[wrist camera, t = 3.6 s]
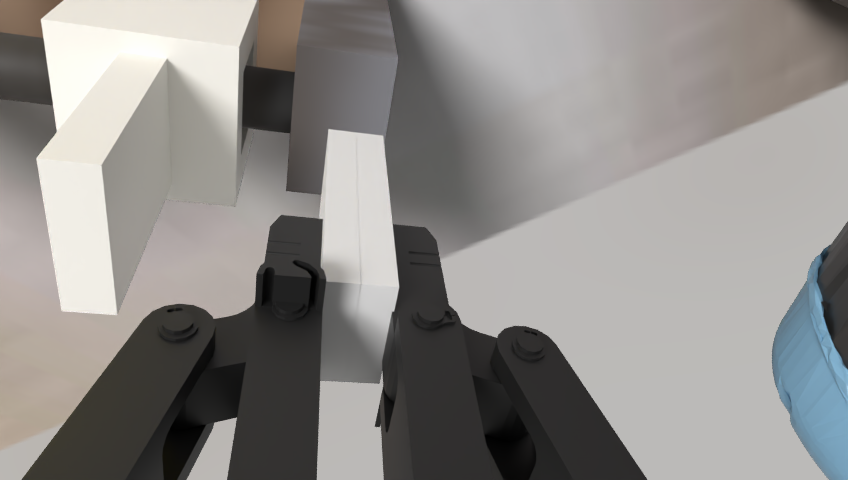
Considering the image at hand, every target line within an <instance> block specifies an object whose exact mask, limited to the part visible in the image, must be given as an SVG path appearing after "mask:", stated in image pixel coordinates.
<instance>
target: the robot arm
mask: <svg viewBox="0 0 848 480" xmlns="http://www.w3.org/2000/svg"><path fill="white" fill-rule="evenodd" d="M831 1H833V2H835V3H837V4H840V5H842V6H844V7H847V8H848V0H831ZM772 366H773V374H774V380H775V384H776V387H777V390H778V392H779V396H780V399H781V401H782V402H783V404H784V406H785V407H786V409H787V410H788V412H789V413H790V421H791V425H792V427H793V428H794V430H795V432H796V434H797V435H798V437H799V439H800V440H801V442H802V444H803V445H804V447H805V448H806V450H807V451H808V453H809V454H810V456H811V457H812V458H813V460H814V461H815V463H816V464H817V465H818V467H819V468H820V469H821V470H822V472H823V473H824V474H825V475H826V477H827V478H828V479H829V480H848V222H847V223H846V225H845V226H844V227H843V229H842V230H841V232H840V233H839V235H838V236H837V237H836V239H835V240H834V241H833V243H832V244H831V245H829V246H828V247H826V248H825V249H824V250H823V251H822V253H821V254H820V255H818V256H817V257H816V258H815V259H814V261H813V262H812V264H811V266H810V269H809V271H808V278H807V281H806V283H805V284H804V286H803V288H802V289H801V291H800V292H799V294H798V296H797V297H796V299H795V300H794V302H793V304H792V305H791V307H790V308H789V310H788V311H787V313H786V315H785V316H784V318H783V319H782V321H781V323H780V325H779V327H778V330H777V332H776V335H775V338H774V343H773V349H772ZM382 371H383V390H382V395H381V400H380V405H379V409H378V414H377V419H376V424H375V427H380V425H381V434H382V452H383V472H384V480H647V478H646V477H645V476H644V474H643V473H642V471H641V470H640V468H639V467H638V465H637V464H636V462H635V461H634V459H633V458H632V456H631V455H630V453H629V452H628V451H627V449H626V447H625V446H624V444H623V443H622V441H621V440H620V438H619V437H618V436H617V434H616V433H615V431H614V430H613V428H612V427H611V425H610V424H609V422H608V421H607V420H606V418H605V416H604V415H603V413H602V412H601V410H600V409H599V407H598V406H597V404H596V403H595V402H594V400H593V399H592V397H591V396H590V394H589V393H588V391H587V390H586V388H585V387H584V386H583V384H582V382H581V381H580V379H579V378H578V376H577V375H576V374H575V372H574V370H573V369H572V367H571V366H570V364H569V363H568V362H567V360H566V359H565V357H564V356H563V354H562V353H561V351H560V350H559V348H558V347H557V345H556V344H555V343H554V342H553V341H552V340H551V339H550V338H549V337H548V336H547V335H545V334H543V333H542V332H540V331H538V330H536V329H532V328H529V327H526V326H513V327H509V328H506V329H504V330H503V331H502V332H501V333H500V334H499V335H498V338H495V337H492V336H489V335H486V334H482V333H479V332H477V331H474V330H472V329H469V328H468V327H466V326H465V325H463V324H461V321H460V318H459V316H458V314H457V312H456V311H454V309H453V308H451V307H450V306H449V304H448V299H447V294H446V289H445V284H444V278H443V273H442V268H441V263H440V257H439V252H438V247H437V242H436V240H435V238H434V237H433V236H432V235H431V233H430V232H429V231H428V230H427V229H426V228H425V227H415V226H404V225H394V224H392V214H391V205H390V195H389V186H388V176H387V167H386V158H385V148H384V139H383V136H382V135H374V134H365V133H357V132H349V131H340V130H332V129H328V138H327V148H326V157H325V166H324V175H323V184H322V193H321V203H320V212H319V219H316V218H306V217H295V216H285V215H281V216H280V217H279V218H278V219H277V220H276V221H275V222H274V223H273V224H272V225H271V226H270V231H269V237H268V244H267V250H266V256H265V262H264V264H262V265H261V266H260V268H259V270H258V272H257V276H256V297H255V303H254V304H253V305H252V306H251V307H250V308H248V309H247V310H246V311H243V312H241V313H239V314H237V315H233V316H229V317H224V318H218V319H213V317H212V316H211V315H210V314H209V313H208V312H207V311H206V310H204V309H202V308H199V307H197V306H194V305H186V304H175V305H168V306H164V307H162V308H159V309H157V310H155V311H152V312H151V313H150V314H149V315H148V316H147V317H146V318H144V319H143V321H142V322H141V323H140V325H139V326H138V327H137V329H136V330H135V331H134V332H133V334H132V335H131V336H130V338H129V339H128V340H127V342H126V343H125V344H124V346H123V347H122V348H121V350H120V351H119V352H118V353H117V355H116V356H115V357H114V359H113V360H112V361H111V363H110V364H109V365H108V367H107V368H106V369H105V371H104V372H103V373H102V375H101V376H100V377H99V378H98V380H97V381H96V382H95V384H94V385H93V386H92V388H91V389H90V390H89V392H88V393H87V394H86V396H85V397H84V398H83V400H82V401H81V402H80V403H79V405H78V406H77V407H76V409H75V410H74V411H73V413H72V414H71V415H70V417H69V418H68V419H67V421H66V422H65V423H64V424H63V426H62V427H61V428H60V430H59V431H58V433H57V434H56V435H55V436H54V438H53V439H52V440H51V442H50V443H49V444H48V446H47V447H46V448H45V449H44V451H43V452H42V454H41V455H40V456H39V458H38V459H37V460H36V461H35V463H34V464H33V465H32V467H31V468H30V469H29V471H28V472H27V473H26V475H25V476H24V477H23V478H22V480H186V479H187V477H188V476H189V473H190V472H191V470H192V468H193V466H194V464H195V462H196V460H197V458H198V456H199V454H200V452H201V450H202V448H203V446H204V444H205V443H206V441H207V439H208V437H209V435H210V433H211V431H212V429H213V425H214V422H218V421H223V420H227V419H231V418H236V417H237V421H236V428H235V434H234V440H233V446H232V453H231V460H230V465H229V471H228V477H227V480H317V451H318V424H319V395H320V381H338V382H358V383H378V384H379V383H380V379H381V374H382Z"/></svg>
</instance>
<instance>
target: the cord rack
mask: <svg viewBox="0 0 848 480" xmlns="http://www.w3.org/2000/svg"><path fill="white" fill-rule="evenodd" d="M62 1H63V0H0V99H5V100H14V101H22V102H31V103H39V104H48V105H53V101H52V94H51V87H50V80H49V73H48V66H47V59H46V52H45V45H44V38H43V31H42V24H41V19H42V18H43V17H44V16H45V15H46V14H48V13H49V12H50V11H51V10H53V9H54V8H55V7H56V6H57V5H59V4H60V3H61V2H62ZM397 65H398V54H397V49H396V43H395V38H394V32H393V27H392V21H391V16H390V10H389V5H388V0H259V12H258V37H257V62H256V67H255V66H247V65H246V66H245V69H244V72H243V105H242V128H250V129H258V130H267V131H275V132H284V133H290V145H289V159H288V172H287V186H286V191H291V192H301V193H311V194H320V195H321V193H322V184H323V175H324V166H325V157H326V148H327V138H328V129H332V130H340V131H349V132H357V133H365V134H374V135H382V136H383V139H384V144H385V138H386V132H387V126H388V120H389V114H390V108H391V101H392V95H393V89H394V83H395V77H396V71H397Z"/></svg>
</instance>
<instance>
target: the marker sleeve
mask: <svg viewBox="0 0 848 480" xmlns="http://www.w3.org/2000/svg"><path fill="white" fill-rule="evenodd" d="M258 12H259V0H63V1H62V2H61V3H60V4H59V5H57V6H56V7H55V8H54V9H53V10H51V11H50V12H49V13H48V14H46V15H45V16H44V17H43V18H42V19H41V24H42V31H43V38H44V45H45V52H46V59H47V66H48V73H49V80H50V87H51V94H52V101H53V108H54V115H55V122H56V129H57V133H56V134H55V135H54V136H53V138H52V139H51V140H50V141H49V143H48V144H47V145H46V147H45V148H44V149H43V150H42V152H41V153H40V154H39V155H38V157H37V158H36V160H37V166H38V172H39V178H40V184H41V190H42V196H43V202H44V208H45V214H46V220H47V226H48V232H49V238H50V244H51V250H52V256H53V262H54V268H55V274H56V280H57V286H58V292H59V298H60V304H61V310H62V311H66V312H81V313H96V314H111V315H117V314H118V312H119V309H120V307H121V305H122V302H123V300H124V297H125V295H126V293H127V290H128V288H129V285H130V283H131V281H132V278H133V276H134V274H135V271H136V269H137V266H138V264H139V262H140V259H141V257H142V254H143V252H144V250H145V247H146V245H147V242H148V240H149V238H150V235H151V233H152V230H153V228H154V226H155V223H156V221H157V218H158V216H159V214H160V211H161V209H162V206H163V204H164V202H165V200H172V201H182V202H193V203H203V204H213V205H223V206H234V207H235V206H236V202H237V198H238V194H239V190H240V186H241V182H242V178H243V174H244V170H245V166H246V162H247V158H248V154H249V150H250V146H251V142H252V138H253V134H254V129H250V128H242V105H243V72H244V69H245V66H246V65H247V66H255V67H256V62H257V37H258Z"/></svg>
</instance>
